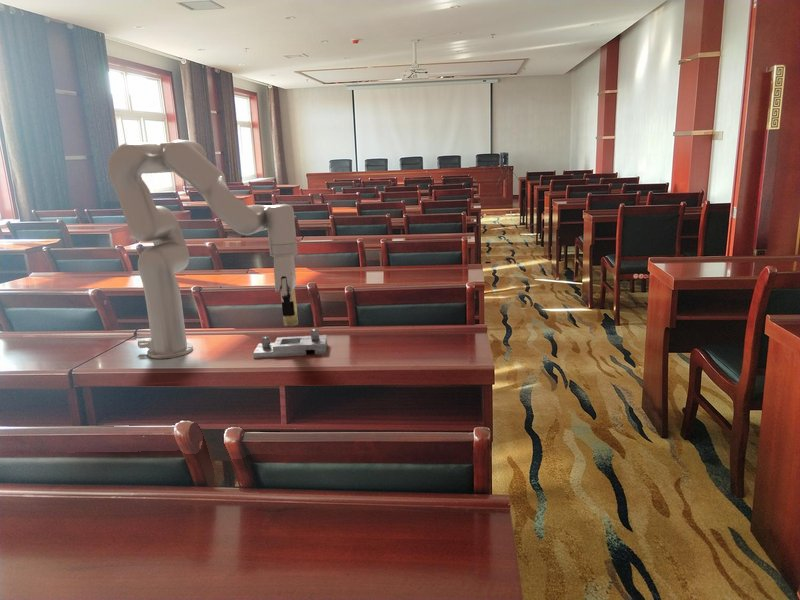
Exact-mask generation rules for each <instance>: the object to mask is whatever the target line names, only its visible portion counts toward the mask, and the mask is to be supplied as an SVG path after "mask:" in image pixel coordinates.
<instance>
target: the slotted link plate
mask: <svg viewBox="0 0 800 600" xmlns="http://www.w3.org/2000/svg"><path fill="white" fill-rule="evenodd" d="M274 343H275V342H271V337H270V336H268V335H265V336H262V337H261V343H258V344H257V346H256V348H255V349H254V351H253V359H261V358H279V357H281V358H282V357H294V356H307V353H308V350H298V351H280V352H273V345H274ZM289 344H299V343H289Z"/></svg>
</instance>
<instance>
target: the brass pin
mask: <svg viewBox="0 0 800 600" xmlns="http://www.w3.org/2000/svg"><path fill="white" fill-rule="evenodd" d="M287 291H290V290H289V289H287ZM280 292H281V289H280ZM288 294H289V293H288ZM296 297H297V296H296V290H295V288H294V290H293V291H292V301H293V302H294V312H295V315H294V316H283V315H282V318H283V319H282V320H283V325H284V327H293V326H297V325H299V320H298V308H297V299H296ZM280 299H281V300H280V301H281V302H282V296H281V295H280Z"/></svg>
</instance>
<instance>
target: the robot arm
mask: <svg viewBox="0 0 800 600" xmlns="http://www.w3.org/2000/svg"><path fill="white" fill-rule="evenodd" d="M107 163H108V164H107V171H108V172H107V173H108V177H109V180H110V182H111V185H112V187H113V189H114V192H115V195H117V198H118V201H119V205H120V208H121V210H122V213H123V216H124V218H125V222H126V224H127V227H128V231H129V232H130V234H131V236H132V237H133V238H134V240H136V241H138V242H140V243H141V242H142V243H149V242H152V243H153V246H148V247H147V248H145V249H144V250H142V252H141V253H140V254H139V256H138V259H137V270H138V273H139V276H140V279H141V282H142V285H143V290H144V291H143V292H144V298H145V303H146V310H147V317H148V325H149V332H150V338H148V339H139V340H137V346H138V348H139V349H145V348H146V349H148V350H147V357H149V358H152V359H156V360H157V359H158V360H160V359H161V360H162V359H163V360H164V359H173V358H177V357H182V356H185V355H187V354H189V353H192V351H193V350H194V345H193V344H192V343H189V342H187V335H186V327H185V317H184V310H183V309H184V308H183V302H182V296H181V295H182V294H181V290H180V285H179V282H178V280H177V278H176V274H179V273H180V272H182V271H184V270H185V269H186V268H187V267H188V265H189V263H190V252H189V249H188V246H187V242H186V240H185V237H184V235H183V232H182V228H181V227H180V226H181V225H180V222H179V220H178V219H177V217H176V215H175V213H174V212H172V211H171V209H169V208H168V207H166V206H162V205H156V204H155V202H154V199H153V196H152V192H151V191H150V188H149V187H148V185H147V184H146V182H145V181H144V180H143V178H142V175H143V174H159V173H161V174H162V173H175V174H176V175H177V176H178V177H179V178H180V179H182V180H183V181H184V182H186V184H188V185H189V186H190V187H191V188H193V189H194V191H196V192H197V193H198V194H199V195H201V196H202V198H203V199H204V200H205V201H204V202H205V203H206V204H207V205H208V207H209V209H211V211H212V212H213V214H214V215H215V216H216V217H218V219H219V220H221V221H222V222H223V223H224V224H225V225H227V226H228V227H229V228H230V229H232V230H233V231H234V232H236V233H238V234H240V235H241V236H242V235H243V236H250V235H253V234H256V233H259V232H262V231H266V230H267V237H268V247H269V256H270V257H272V258H273V273H274V275H273V276H274V289H275V290H274V291H275V292H276V293H279V291H280V290H281V291H280V297H281V296H282V301H281V308H282V309H281V310H282V317H283V316H294V315H295V312H294V302H293V301H292V291H293V290H294V289H295V287H296V286H297V279H296V264H295V256H296V255H298V244H297V243H298V241H297V233H296V232H297V231H296V223H295V221H296V220H295V212H294V207H293V205H291V204H286V203H285V204H284V203H283V204H282V203H281V204H272V205H267V204H266V205H265V204H251V205H247V204H245V203H244V202H243V201H241V200H240V199H239V198H238V197H237V196H236V195H235V194H234V193H233V192H232V191H231V190H230V188H229V187H228V185H227V181H226V175H225V174H224V171H222V170H221V169H219V168H218V167H217V166H216V165H214V164H213V163H212V162H211V161H210V160H209V159H208V155H207V152H206V150H205V148H204V146H202V145H201V144H200V143H198V142H196V141H194V140H188V139H175V140H172V141H170V142H169V141H168V142H167V141H166V142H165V141H164V142H147V141H145V142H143V141H129V142H125V143H123V144H120V145H119V146H117V147H116V148H115V149H114V150H113V152H112V153H111V154H110V157H109V159H108V162H107ZM287 289H289V290H290V291H287ZM288 293H289V294H288Z"/></svg>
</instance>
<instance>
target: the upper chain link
mask: <svg viewBox="0 0 800 600" xmlns="http://www.w3.org/2000/svg"><path fill="white" fill-rule="evenodd" d="M309 331H310V335H302V336H301V335H299V336H281V337H276V339H275V341H274V342H273V343H274V345H273V352H280V351H298V350H307V351H311V350H312V351H314V355H326V354H327V348H328V336H327V334H322V335H321V334H320V329H319V328H312V329H310V330H309ZM289 343H299V344H289Z"/></svg>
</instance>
